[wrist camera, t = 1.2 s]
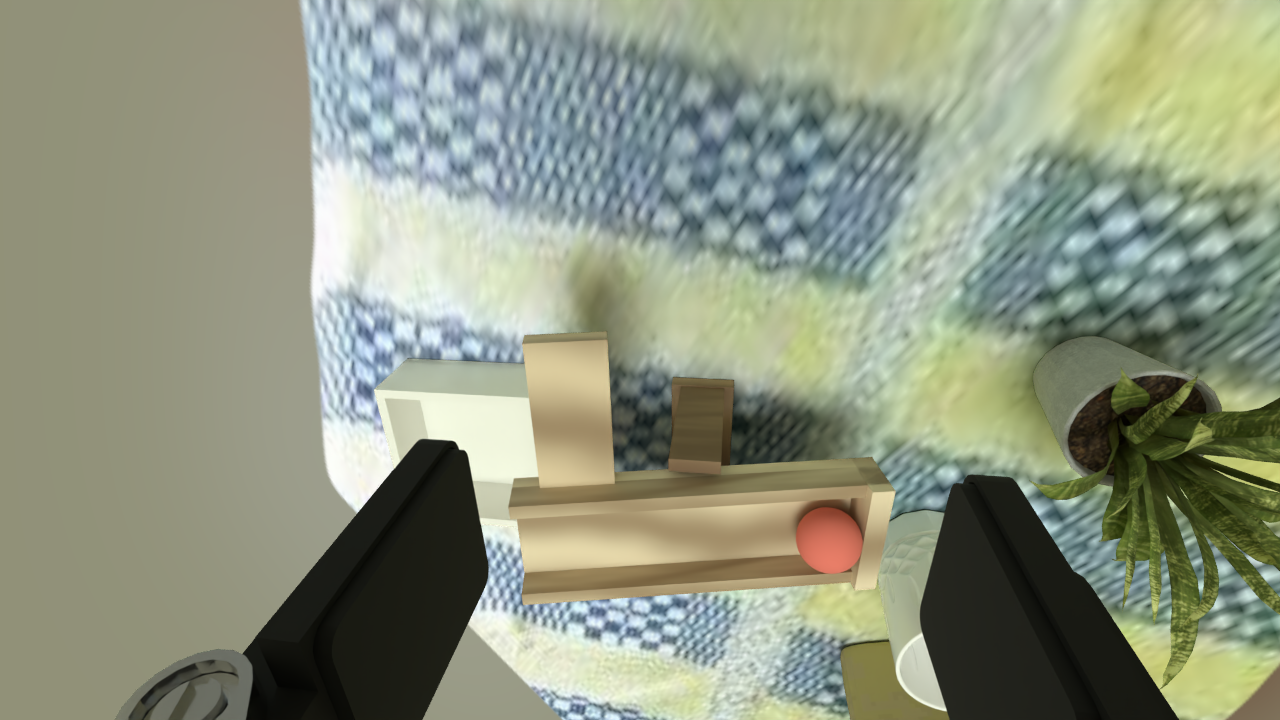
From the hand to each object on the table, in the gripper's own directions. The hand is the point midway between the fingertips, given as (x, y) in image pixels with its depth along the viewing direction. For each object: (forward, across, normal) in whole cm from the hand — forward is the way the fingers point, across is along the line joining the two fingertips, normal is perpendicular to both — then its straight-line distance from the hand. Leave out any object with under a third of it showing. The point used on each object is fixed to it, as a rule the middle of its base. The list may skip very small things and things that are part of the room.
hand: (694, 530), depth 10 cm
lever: (+21, +1, +13) cm, 25 cm away
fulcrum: (+28, +1, +17) cm, 33 cm away
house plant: (+28, -22, +12) cm, 38 cm away
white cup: (+28, -15, +25) cm, 40 cm away
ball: (+19, -6, +17) cm, 26 cm away
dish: (+28, +16, +17) cm, 36 cm away
